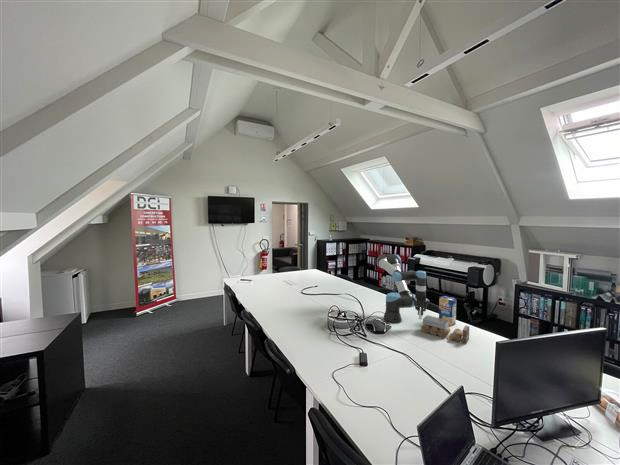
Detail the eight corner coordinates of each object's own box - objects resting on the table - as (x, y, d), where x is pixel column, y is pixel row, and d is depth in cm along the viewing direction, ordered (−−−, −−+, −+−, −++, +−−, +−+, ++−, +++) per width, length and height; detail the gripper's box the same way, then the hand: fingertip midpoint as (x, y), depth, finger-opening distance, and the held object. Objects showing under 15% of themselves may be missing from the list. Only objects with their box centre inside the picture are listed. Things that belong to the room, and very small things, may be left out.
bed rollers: (446, 339, 186) (446, 331, 185) (421, 331, 198) (421, 324, 198) (450, 333, 194) (450, 326, 194) (425, 327, 206) (425, 320, 206)
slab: (422, 323, 197) (422, 318, 197) (426, 319, 205) (427, 315, 204) (445, 329, 186) (445, 324, 186) (448, 325, 194) (448, 320, 194)
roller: (449, 339, 184) (458, 343, 180) (451, 332, 183) (460, 336, 179) (453, 334, 192) (461, 338, 189) (455, 327, 191) (464, 331, 187)
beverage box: (452, 326, 207) (452, 300, 206) (438, 322, 216) (439, 297, 215) (455, 324, 211) (456, 298, 210) (442, 320, 220) (443, 295, 219)
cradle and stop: (446, 338, 186) (447, 325, 185) (450, 334, 193) (450, 321, 193) (466, 344, 178) (466, 330, 177) (469, 339, 185) (469, 326, 184)
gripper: (410, 289, 204) (410, 318, 205) (427, 292, 195) (427, 322, 196) (414, 287, 209) (414, 315, 210) (430, 290, 200) (430, 319, 201)
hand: (420, 318), depth 203 cm, fingers closed
